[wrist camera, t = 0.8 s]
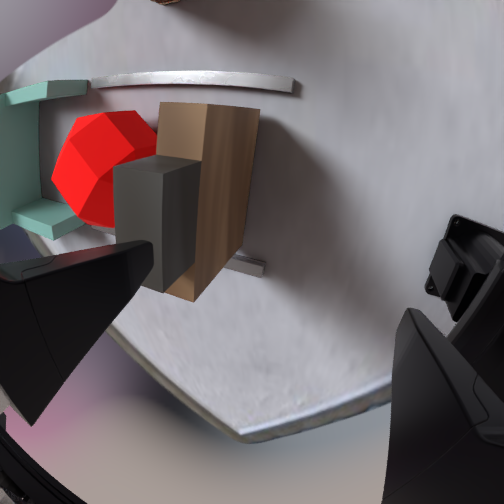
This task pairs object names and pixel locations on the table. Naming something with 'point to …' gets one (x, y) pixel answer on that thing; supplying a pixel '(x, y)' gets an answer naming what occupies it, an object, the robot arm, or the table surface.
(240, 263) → the track
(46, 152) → the table surface
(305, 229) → the table surface
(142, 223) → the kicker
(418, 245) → the table surface
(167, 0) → the coffee cup
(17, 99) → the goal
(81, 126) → the ball
